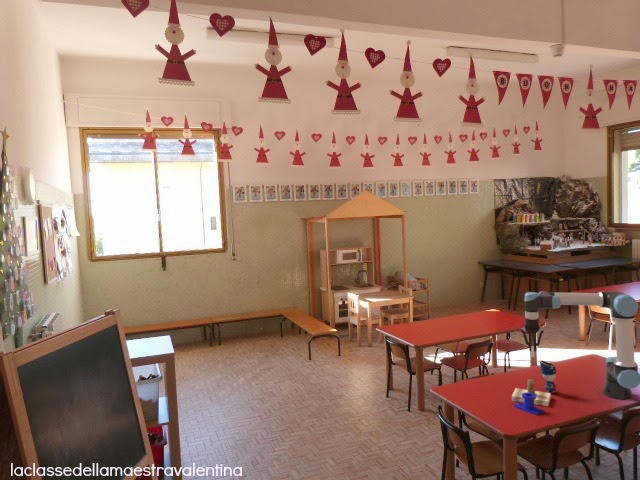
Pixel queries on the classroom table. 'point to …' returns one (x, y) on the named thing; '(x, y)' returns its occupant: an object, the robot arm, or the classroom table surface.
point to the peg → (531, 386)
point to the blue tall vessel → (548, 375)
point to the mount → (529, 404)
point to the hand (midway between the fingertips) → (533, 356)
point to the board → (541, 399)
